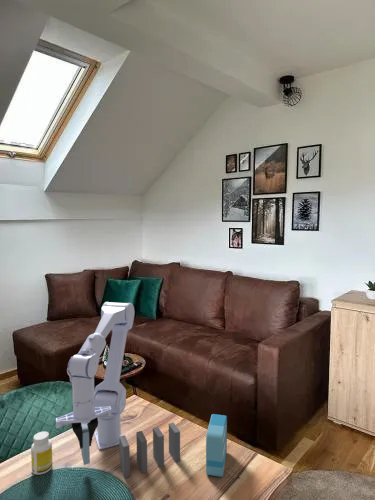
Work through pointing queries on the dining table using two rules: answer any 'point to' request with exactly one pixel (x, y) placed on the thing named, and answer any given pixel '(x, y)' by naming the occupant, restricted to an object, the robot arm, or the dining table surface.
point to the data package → (216, 445)
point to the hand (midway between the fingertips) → (85, 445)
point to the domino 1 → (124, 456)
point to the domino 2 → (141, 451)
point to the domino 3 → (158, 446)
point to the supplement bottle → (41, 453)
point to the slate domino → (85, 444)
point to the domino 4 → (174, 442)
